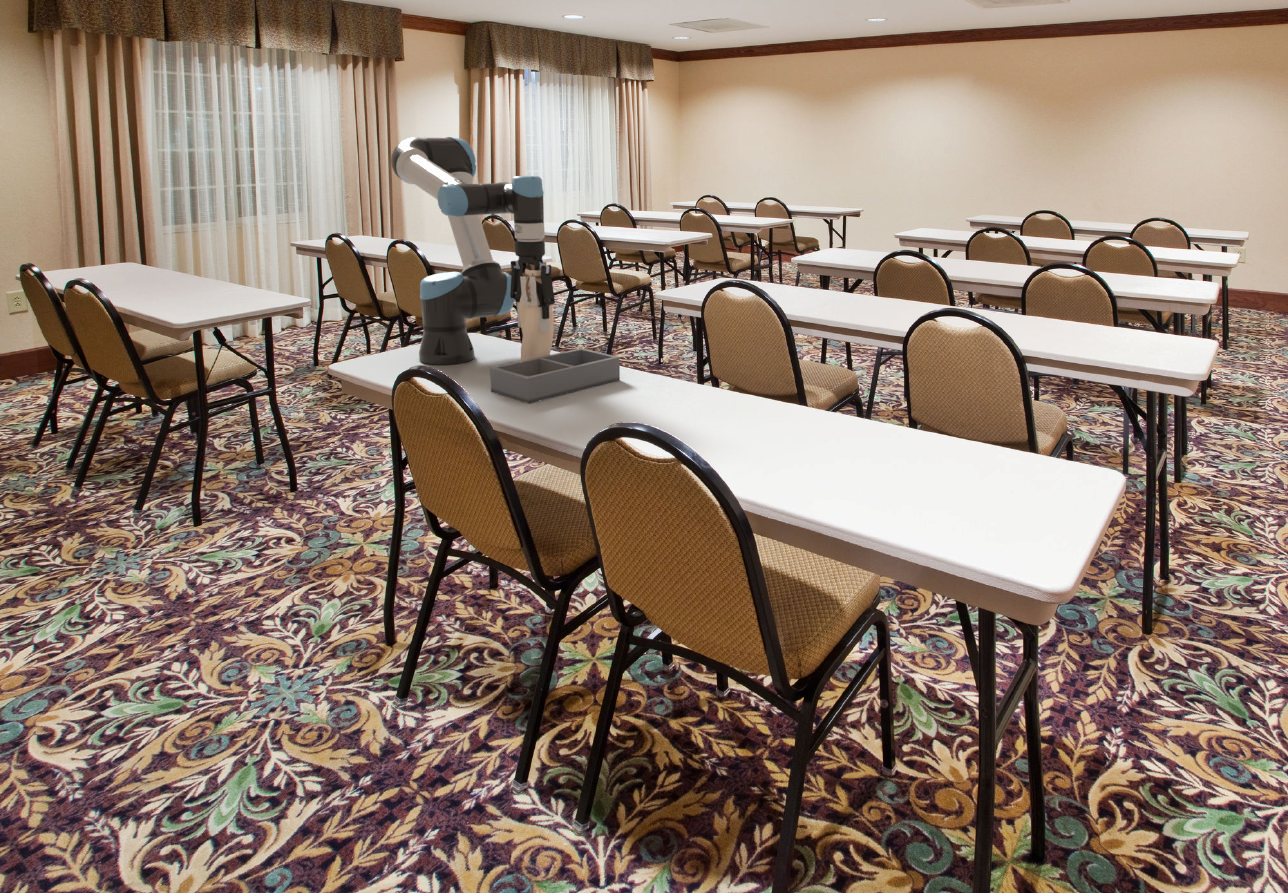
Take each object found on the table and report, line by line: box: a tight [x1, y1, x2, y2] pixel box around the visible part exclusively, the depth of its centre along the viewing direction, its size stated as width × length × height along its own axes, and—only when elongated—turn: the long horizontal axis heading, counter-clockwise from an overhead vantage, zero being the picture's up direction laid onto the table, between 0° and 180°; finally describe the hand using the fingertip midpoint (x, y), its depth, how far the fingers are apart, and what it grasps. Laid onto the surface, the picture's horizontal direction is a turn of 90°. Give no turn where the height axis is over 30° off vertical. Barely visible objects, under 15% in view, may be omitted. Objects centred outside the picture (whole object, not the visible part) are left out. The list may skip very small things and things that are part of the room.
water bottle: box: [519, 262, 555, 361], centre depth 220 cm, size 10×9×28 cm
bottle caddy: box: [489, 347, 621, 405], centre depth 210 cm, size 14×30×6 cm, turn 136°
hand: (533, 328), depth 222 cm, fingers closed on water bottle, 8 cm apart
